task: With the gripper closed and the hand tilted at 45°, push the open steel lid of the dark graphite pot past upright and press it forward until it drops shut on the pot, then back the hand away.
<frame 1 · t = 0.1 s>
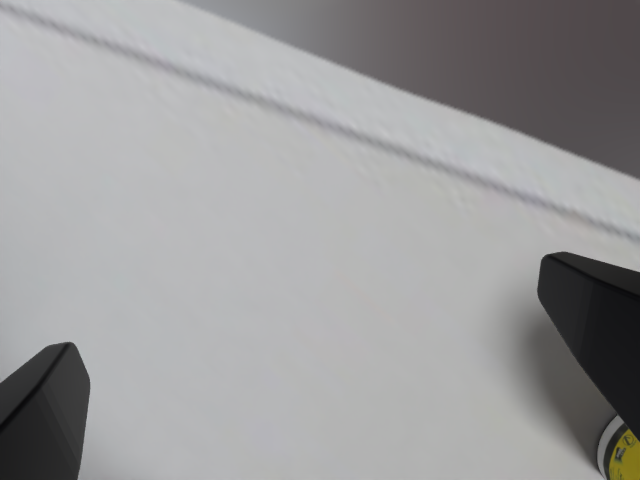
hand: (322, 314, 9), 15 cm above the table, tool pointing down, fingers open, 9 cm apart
pill bottle: (634, 441, 31), on the table
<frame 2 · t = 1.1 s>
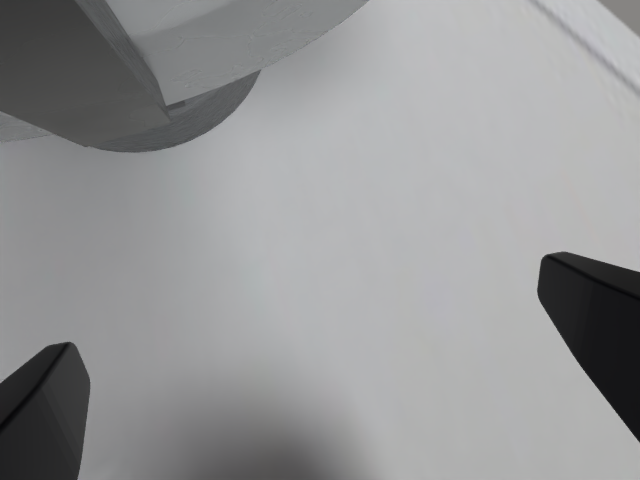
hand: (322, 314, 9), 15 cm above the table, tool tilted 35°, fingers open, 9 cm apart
pot lid: (53, 38, 9), point 16 cm above the table, hinge at 103.0°
steel pot: (135, 25, 26), on the table
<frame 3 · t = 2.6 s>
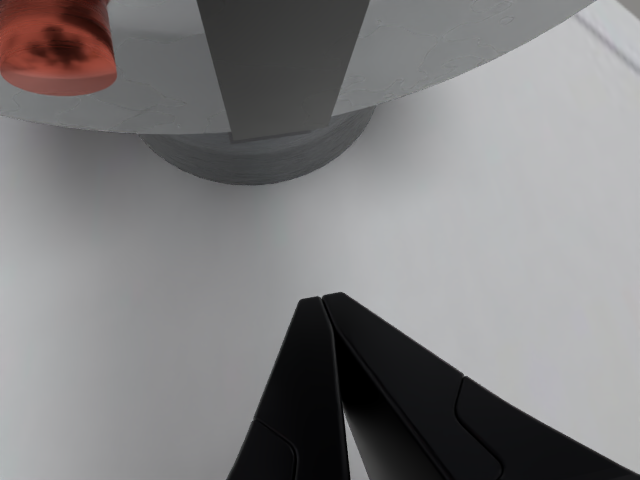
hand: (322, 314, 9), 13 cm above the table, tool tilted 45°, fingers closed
steel pot: (251, 66, 26), on the table
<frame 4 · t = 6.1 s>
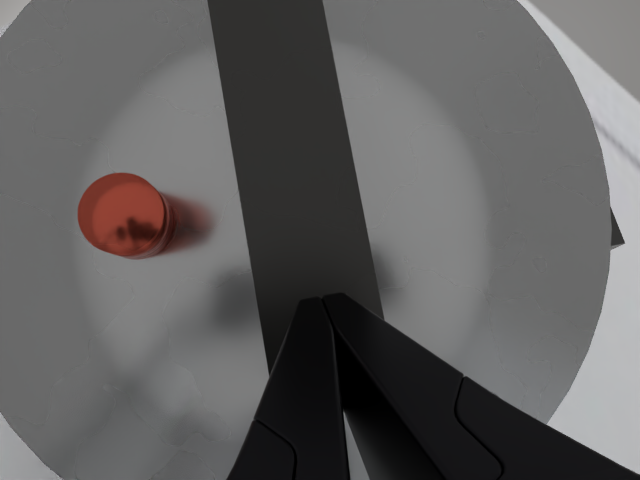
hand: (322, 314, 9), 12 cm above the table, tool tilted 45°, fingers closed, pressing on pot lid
pot lid: (296, 196, 11), point 11 cm above the table, hinge at 10.5°, touching gripper
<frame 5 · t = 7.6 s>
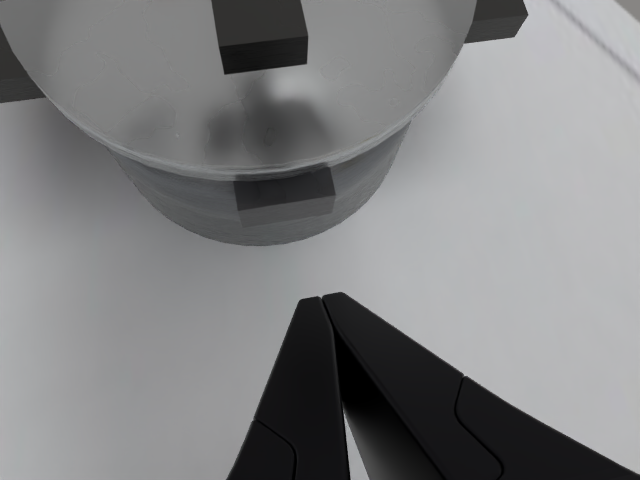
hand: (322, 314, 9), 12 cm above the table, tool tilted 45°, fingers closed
steel pot: (260, 110, 24), on the table
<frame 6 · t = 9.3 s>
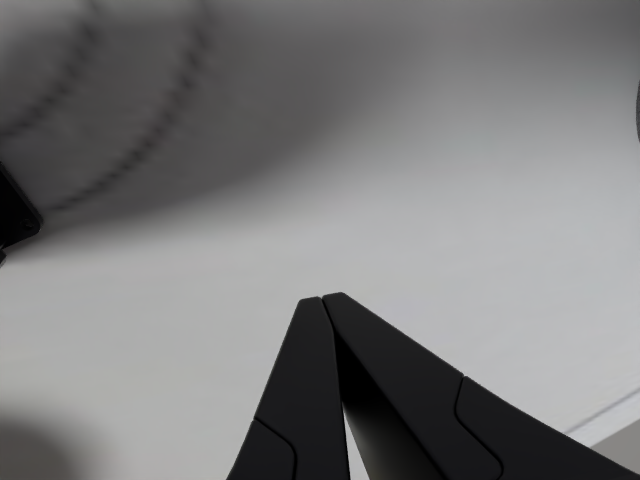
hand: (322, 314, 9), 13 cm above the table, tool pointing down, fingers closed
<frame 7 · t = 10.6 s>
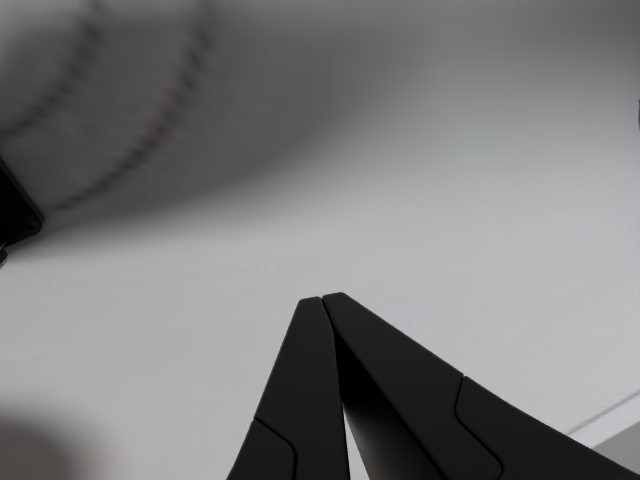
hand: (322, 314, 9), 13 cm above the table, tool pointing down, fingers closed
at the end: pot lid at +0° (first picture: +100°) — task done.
